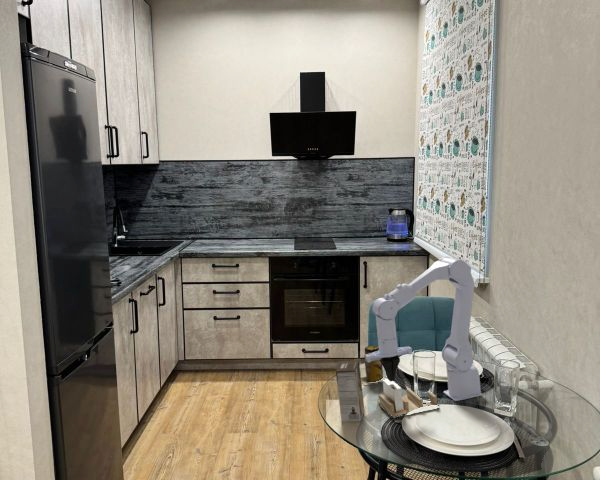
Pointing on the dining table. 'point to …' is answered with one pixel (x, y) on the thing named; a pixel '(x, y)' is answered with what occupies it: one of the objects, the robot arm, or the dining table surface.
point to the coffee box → (350, 390)
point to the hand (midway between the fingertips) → (391, 380)
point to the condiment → (372, 367)
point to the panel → (393, 394)
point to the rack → (406, 403)
